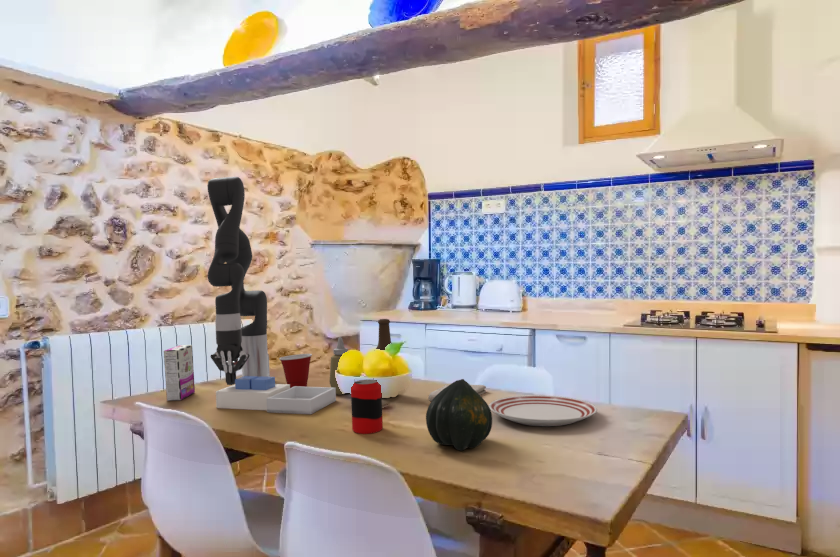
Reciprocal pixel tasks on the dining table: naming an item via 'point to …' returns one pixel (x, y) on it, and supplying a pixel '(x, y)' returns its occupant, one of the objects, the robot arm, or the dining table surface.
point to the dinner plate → (542, 410)
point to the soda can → (366, 407)
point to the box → (301, 400)
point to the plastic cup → (296, 369)
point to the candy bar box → (179, 372)
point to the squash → (459, 416)
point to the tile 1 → (244, 382)
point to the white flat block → (246, 397)
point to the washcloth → (478, 388)
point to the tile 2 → (262, 383)
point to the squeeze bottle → (336, 364)
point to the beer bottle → (383, 334)
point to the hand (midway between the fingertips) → (231, 384)
